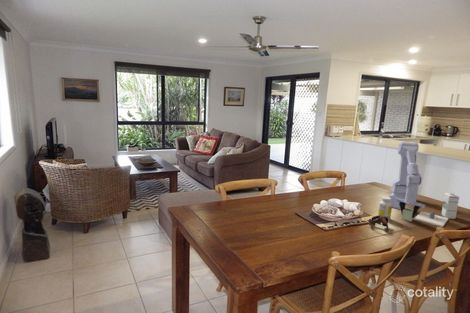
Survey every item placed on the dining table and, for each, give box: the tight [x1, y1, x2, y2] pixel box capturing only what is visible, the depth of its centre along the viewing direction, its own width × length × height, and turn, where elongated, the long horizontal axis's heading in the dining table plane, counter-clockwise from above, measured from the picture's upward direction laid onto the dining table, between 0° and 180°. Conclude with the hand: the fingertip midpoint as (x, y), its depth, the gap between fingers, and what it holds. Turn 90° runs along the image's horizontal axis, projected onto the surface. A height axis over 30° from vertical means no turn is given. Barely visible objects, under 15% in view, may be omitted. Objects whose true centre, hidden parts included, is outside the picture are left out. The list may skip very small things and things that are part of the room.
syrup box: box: [440, 192, 460, 220], centre depth 176 cm, size 6×6×14 cm
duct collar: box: [401, 207, 414, 222], centre depth 171 cm, size 5×5×6 cm
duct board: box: [414, 211, 449, 228], centre depth 171 cm, size 14×16×4 cm
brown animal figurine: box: [368, 214, 390, 233], centre depth 157 cm, size 12×10×8 cm
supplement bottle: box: [377, 196, 393, 221], centre depth 170 cm, size 7×7×13 cm
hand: (407, 216), depth 171 cm, fingers closed on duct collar, 5 cm apart
